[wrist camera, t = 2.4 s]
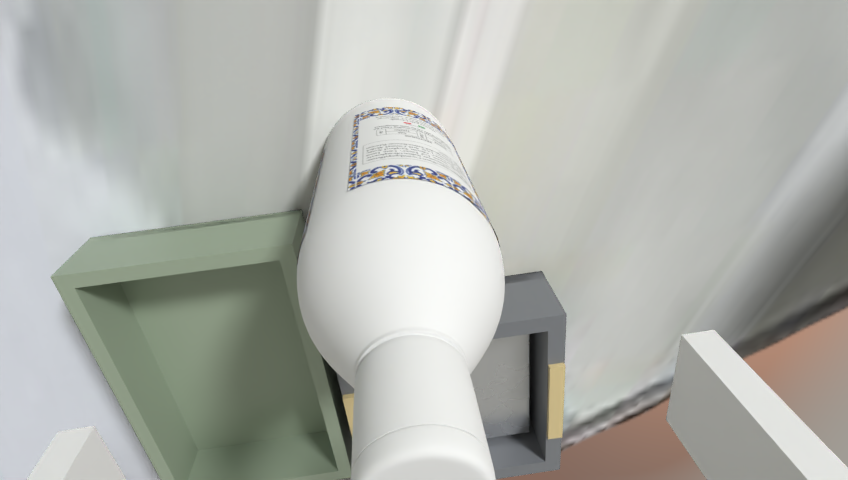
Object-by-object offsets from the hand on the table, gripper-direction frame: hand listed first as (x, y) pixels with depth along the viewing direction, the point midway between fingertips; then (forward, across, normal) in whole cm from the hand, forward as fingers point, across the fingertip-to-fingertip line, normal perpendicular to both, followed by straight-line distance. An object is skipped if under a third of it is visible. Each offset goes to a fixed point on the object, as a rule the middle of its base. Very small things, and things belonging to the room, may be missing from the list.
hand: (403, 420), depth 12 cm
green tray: (+18, +10, +11) cm, 24 cm away
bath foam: (+18, 0, 0) cm, 18 cm away
